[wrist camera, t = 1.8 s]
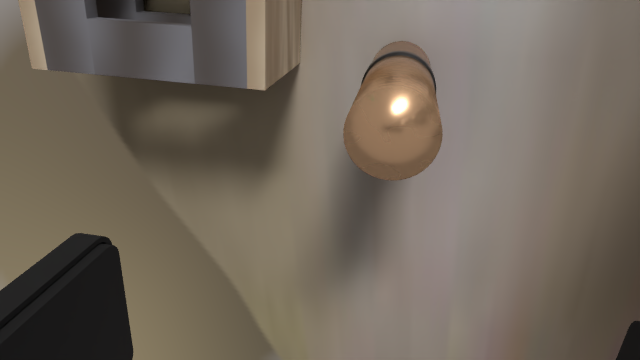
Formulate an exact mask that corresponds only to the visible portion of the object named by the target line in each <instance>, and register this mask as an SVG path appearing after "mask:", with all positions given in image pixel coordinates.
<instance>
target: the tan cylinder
mask: <svg viewBox="0 0 640 360" xmlns="http://www.w3.org/2000/svg"><path fill="white" fill-rule="evenodd" d="M441 142H442V125H441V120H440V114H439V109H438V104H437V99H436V83H435V78H434V75H433V72H432V70H431V67H430V62H429V59H428V57H427V55H426V54H425V52H424V51H423V50H422V49H421V48H420V47H419V46H417V45H415V44H413V43H410V42H405V41H398V42H393V43H390V44H388V45H386V46H385V47H383V48H382V49H381V50H380V51H379V52H378V53H377V54H376V56H375V58H374V60H373V62H372V64H371V65H370V66H369V67H368V69H367V71H366V73H365V75H364V77H363V80H362V83H361V88H360V90H359V92H358V94H357V96H356V98H355V100H354V102H353V105H352V107H351V109H350V111H349V113H348V115H347V118H346V121H345V124H344V143H345V147H346V150H347V152H348V154H349V156H350V158H351V159H352V161H353V162H354V163H355V164H356V165H357V166H358V167H359V168H360V169H361V170H363V171H364V172H365V173H367V174H369V175H371V176H373V177H376V178H379V179H384V180H402V179H406V178H410V177H412V176H415V175H417V174H418V173H420V172H422V171H423V170H424V169H426V168H427V167H428V166H429V165H430V164H431V163H432V161H433V160H434V159H435V157H436V155H437V154H438V152H439V149H440V146H441Z"/></svg>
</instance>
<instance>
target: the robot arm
mask: <svg viewBox="0 0 640 360" xmlns="http://www.w3.org/2000/svg"><path fill="white" fill-rule="evenodd" d="M132 358H133V346H132V339H131V332H130V325H129V318H128V312H127V304H126V298H125V291H124V284H123V277H122V270H121V263H120V257H119V251H118V249H117V247H115V246H114V245H112V243H111V241H110V239H109V238H107V237H104V236H97V235H90V234H83V233H78V234H74V235H72V236H71V237H70V238H68V239H67V240H66V241H64V242H63V243H62V244H60V245H59V246H58V247H57V248H55V249H54V250H53V251H51V252H50V253H49V254H48V255H46V256H45V257H44V258H43V259H41V260H40V261H39V262H37V263H36V264H35V265H33V266H32V267H31V268H30V269H28V270H27V271H25V272H24V273H23V274H21V275H20V276H19V277H18V278H16V279H15V280H14V281H12V282H11V283H10V284H8V285H7V286H6V287H5V288H3V289H2V290H1V291H0V360H132ZM616 360H640V321H634V322H633V323H632V324H631V325H630V327H629V329H628V331H627V334H626V336H625V339H624V341H623V344H622V346H621V348H620V351H619V353H618V356H617V358H616Z"/></svg>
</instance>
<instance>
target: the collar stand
mask: <svg viewBox="0 0 640 360" xmlns="http://www.w3.org/2000/svg"><path fill="white" fill-rule="evenodd" d="M18 1H19V6H20V11H21V16H22V21H23V26H24V31H25V35H26V41H27V45H28V51H29V56H30V61H31V65H32V68H33V69H43V70H54V71H64V72H75V73H86V74H96V75H107V76H118V77H128V78H139V79H150V80H160V81H171V82H182V83H192V84H203V85H214V86H224V87H235V88H246V89H257V90H266V89H267V88H269V87H270V86H271V85H273V84H274V83H275V82H276V81H278V80H279V79H280V78H282V77H283V76H284V75H285V74H287V73H288V72H289V71H291V70H292V69H293V68H294V67H296V66H297V65H298V64H300V40H301V8H302V0H190V14H179V13H165V12H151V11H144V2H143V0H18Z"/></svg>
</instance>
